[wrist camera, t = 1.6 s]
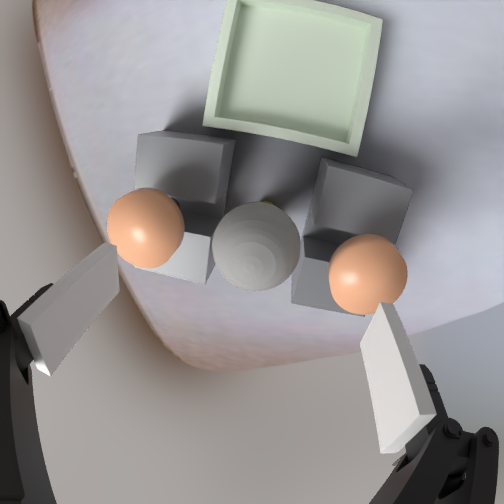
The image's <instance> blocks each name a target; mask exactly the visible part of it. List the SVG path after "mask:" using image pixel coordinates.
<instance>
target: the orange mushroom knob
mask: <svg viewBox="0 0 504 504" xmlns="http://www.w3.org/2000/svg"><path fill="white" fill-rule="evenodd" d="M328 278H329V284H330V289H331V293H332V296H333V298H334V300H335V301H336V303H337V304H338V305H339V306H340V307H341V308H343V309H344V310H346V311H348V312H351V313H354V314H361V315H366V314H372V313H375V312H376V310H377V308H378V306H379V303H380V302H383V303H388V304H393V303H394V302H395V301H396V300H397V299H398V298H399V296H400V295H401V293H402V292H403V290H404V288H405V285H406V282H407V266H406V263H405V261H404V259H403V257H402V256H401V254H400V253H399V252H398V250H397V249H396V247H395V246H394V245H393V244H392V243H391V242H390V241H389V240H388V239H386V238H384V237H382V236H379V235H375V234H362V235H358V236H352V237H350V238H349V239H348V240H347V241H345V242H344V243H342V244H341V245H340V246H339V247H338V248H337V249H336V251H335V252H334V253H333V255H332V257H331V259H330V262H329V266H328Z"/></svg>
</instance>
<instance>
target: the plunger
mask: <svg viewBox="0 0 504 504" xmlns="http://www.w3.org/2000/svg"><path fill="white" fill-rule="evenodd" d="M184 229H185V226H184V220H183V216H182V213H181V211H180V205H179V202H178V201H177V200H176V199H174V198H170V197H169V196H168V195H167V194H165V193H164V192H162V191H160V190H157V189H154V188H139V189H136V190H134V191H132V192H130V193H128V194H126V195H125V196H123V197H121V198H119V199H118V200H117V201H116V202H115V203H114V204H113V206H112V207H111V209H110V211H109V214H108V218H107V231H108V235H109V238H110V241H111V243H112V245H116V246H117V253H118V254H119V255H120V256H121V257H122V258H123V259H125V260H126V261H127V262H129V263H131V264H132V265H135V266H137V267H141V268H155V267H158V266H161V265H163V264H164V263H166V262H167V261H168V260H169V259H170V257H171V256H172V255H173V254H174V252H175V251H176V250H177V249H178V247H179V246H180V244H181V242H182V240H183V237H184Z"/></svg>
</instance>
